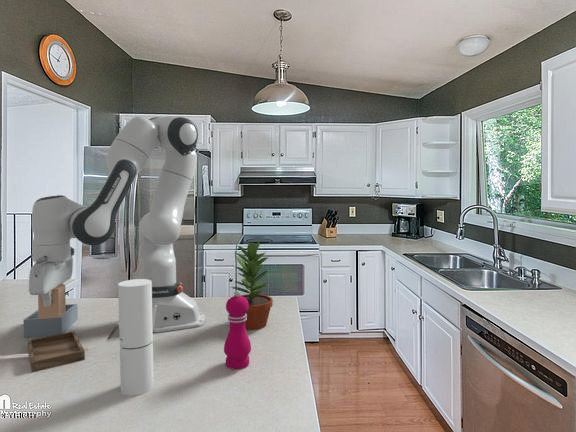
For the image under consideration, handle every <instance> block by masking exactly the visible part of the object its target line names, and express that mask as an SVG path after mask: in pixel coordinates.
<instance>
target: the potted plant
mask: <svg viewBox="0 0 576 432" xmlns="http://www.w3.org/2000/svg"><path fill="white" fill-rule="evenodd" d="M260 245H261V244H260V241H258V242H256V243H255V242H253V241H251V242H250V243H248V244H247V248H246V249H247V250H246V249H245V248H244V247H242V246H241V245H237V248H238V249H239V250H240V251H241V252H242V253H243V254H241V253H238V252H235V257H236V261H237V262H238V264H240V265H241V266H242V267H239V266H235V268H236V269H237V270H238V271H240V272H241V273H239V272H238V273H237V274H238V275H239V276H241V277H243V278H242V279H241V282H240V281H237V280H235V281H233V280H232V282H234V283H235V284H239V286H240V285H241V286H243V287H244V288H242V287H239V286H230V288H231V289H234V290H235V291H237V290H238V291H240V292H243V293H245V294H241V295H240V296H242V297H244V298H246V299H247V301H248V304H249V308H248V311H247V312H246V314H247V316H246V317H247V320H246V321H245V329H246V331H256V330H257V331H258V330H260V329H261V330H262V329H264V328H265V327H267V323H268V319H269V315H270V311H271V308H273V303H274V302H273V301H274V300H273V298H272V297H271V296H268V295H265V294H261V292H262V290H261V289H262V288H264V287H267V286H269V283H264V280H261V281H259V280H260V279H261V278H263V277H264V276H265V275H267V274H268V273H269V272H270V270H269V271H268V270H264V271H263V272H262V273H260V274H259V275H258V273H259V271H260V269H261V268H262V267H263V263H265V261H266V260H268V259H269V258H270V256H268V257H263V256H264V255H266V252H267V251H265V252H263V253H262V252H261V253H257V252H258V249H259V248H260ZM257 281H258V282H257ZM245 288H246V289H245Z"/></svg>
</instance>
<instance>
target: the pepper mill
mask: <svg viewBox="0 0 576 432" xmlns="http://www.w3.org/2000/svg"><path fill="white" fill-rule="evenodd" d="M240 295H242V293H241V291H239V290H235V291H234V292H233V296H231V297H230V298H228V299H227V301H226V304H225V310H226V312H227V313H228V315H227V320H228V322H229V330H228V332H227V333H228V334H227V336H226V339H225V341H224V343H223V344H224V345H223V353H224V354H225V356H226V357H225V367H227V368H228V369H231V370H243V369H245V368H247V367H248V366H249V365H250V356H249V354H250V353H251V351H252V344H251V339H250V338H249V335H248V332H247V330H246V329H245V321H246V320H247V317H246V316H247V314H246V312H247V311H248V308H249V304H248V301H247V299H246V298H244V297H242V296H240Z"/></svg>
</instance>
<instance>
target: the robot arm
mask: <svg viewBox="0 0 576 432" xmlns="http://www.w3.org/2000/svg"><path fill="white" fill-rule="evenodd" d="M198 132H199V131H198V127H197V125H196V123H195V122H194V121H192V120H191V119H189V118H187V117H184V116H171V115H167V116H159V117H158V116H156V117H151V118H149V119H148V118H145V117H144V116H135V117H132V118H131V119H130V120H128V121H127V123H126V124H125V125H124V126H123V127H122V129H120V131H119V133H117V135H116V137H115V138H114V140H113V141H112V144H110V146H109V149H108V151H107V154H106V156H105V163H106V167H107V177H106V179H105V182H104V183H103V185H102V187H101V189H100V191H99V192H98V194H97V196H96V197H95V199H94V201H93V203H92V204H90V206H89V205H88V206H86V205H83V204H81V203H78V202H76V201H74V200H71V199H70V198H69V197H67V196H66V195H63V194H62V195H61V194H60V195H59V194H58V195H49V196H45V197H40V198H38V199H37V200H36V201H35V202H34V203H33V206H32V209H31V210H32V212H31V230H32V232H33V239H32V243H31V244H32V245H31V247H32V251H31V253H32V262H34V264H33V265H32V266H30V269H29V277H28V278H29V279H28V292H29V295H31V296H38V295H41V298H42V300H43V306H44V307H49V306H51V305H52V304H53V302H52V301H53V299H51V295H50V294H51V290H53V289H54V288H56V287H57V286H59V285H64V283H66V282H67V281H69V280H71V278H72V275H73V270H74V269H73V268H74V267H73V266H74V258H73V256H75V253H76V252H75V251H76V250H75V248H74V247H72V246H71V240H72V239H77V240H78V241H79V242H81V243H82V244H84V245H87V246H98V245H101V244H104V243H106V242H107V241H109V240H110V238H112V235H114V231H115V229H116V228H115V226H116V219H117V217H116V216H117V214H118V211H119V208H120V207H121V205H122V203H123V201H124V199H125V197H126V196H127V194H128V192H129V190H130V187H131V186H132V184H133V182H134V180H135V179H136V177H137V176H138V175H139V173H140V172H141V171H142V170H143V168H144V167H145V165H146V163H147V161H148V160H149V158H150V156H151V155H152V153H153V152H154V150H155V149H162V150H164V152H165V160H164V162H163V164H162V166H161V169H160V173H159V175H158V179H157V182H156V185H155V187H154V190H153V196H152V201H151V205H150V209H149V212H148V213H146V214H145V215H143V216H142V217H141V219H140V220H139V224H138V233H139V245H140V253H141V263H142V265H141V266H142V267H141V268H142V279H147V280H151V281H152V326H153V333H162V332H163V333H164V332H171V331H177V330H178V331H179V330H185V329H190V328H191V329H192V328H198V327H201V326H202V325H204V324H205V321H206V315H205V314H204V313H203V312H202V311H200V309H199V305H198V303H197V301H196V300H195V299H193V298H192V297H190V296H189V295H187V294H186V293H185V292H183V290H184V287H183V283H182V282H178V281H177V260H176V256H175V250H174V245H173V244H174V243H175V242H176V241H177V240H178V239H179V237H180V235H181V225H182V223H183V217H184V211H185V205H186V201H187V197H188V194H189V192H190V188H191V186H192V183H193V179H194V176H195V174H196V169H197V161H198V160H197V159H198V155H197V153H196V151H195V150H196V147H197V144H198V143H197V142H198V140H199V138H198V137H199V133H198Z"/></svg>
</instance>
